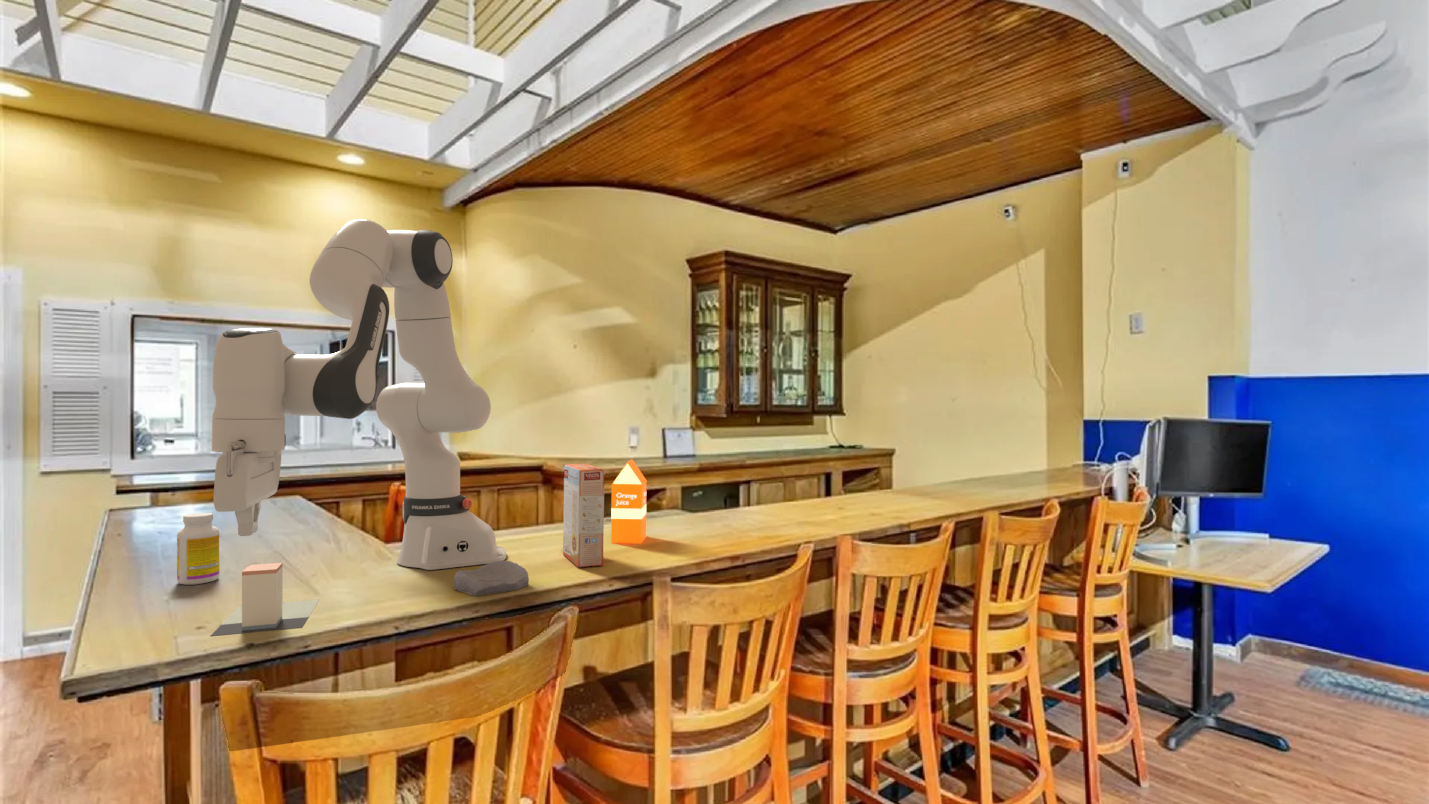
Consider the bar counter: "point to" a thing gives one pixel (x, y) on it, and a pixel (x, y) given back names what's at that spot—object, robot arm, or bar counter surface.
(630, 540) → the orange juice
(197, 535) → the supplement bottle
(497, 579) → the stone block
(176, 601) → the bar counter surface
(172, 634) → the bar counter surface
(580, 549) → the cracker box
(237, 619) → the bar mat
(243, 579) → the pillar block
